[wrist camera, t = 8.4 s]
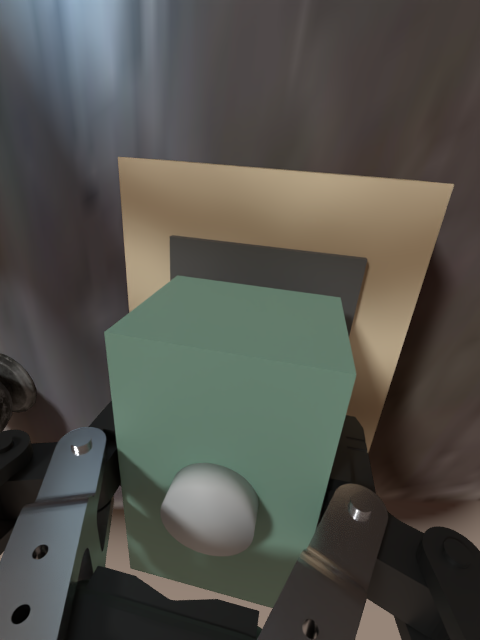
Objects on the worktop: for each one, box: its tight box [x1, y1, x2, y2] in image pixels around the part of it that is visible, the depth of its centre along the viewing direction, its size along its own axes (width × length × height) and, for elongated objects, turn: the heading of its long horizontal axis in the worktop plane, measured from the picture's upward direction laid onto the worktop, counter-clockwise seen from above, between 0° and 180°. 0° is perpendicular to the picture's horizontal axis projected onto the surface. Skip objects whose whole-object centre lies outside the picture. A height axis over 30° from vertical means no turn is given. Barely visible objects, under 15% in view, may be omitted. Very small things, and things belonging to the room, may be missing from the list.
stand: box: [118, 157, 454, 453], centre depth 16 cm, size 16×11×5 cm
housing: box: [104, 275, 357, 608], centre depth 11 cm, size 9×6×5 cm, turn 175°
